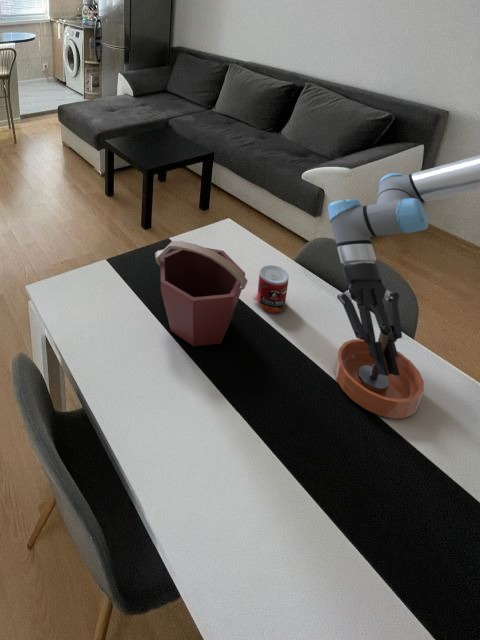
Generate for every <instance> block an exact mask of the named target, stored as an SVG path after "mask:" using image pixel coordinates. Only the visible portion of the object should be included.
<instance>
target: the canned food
mask: <svg viewBox="0 0 480 640" xmlns="http://www.w3.org/2000/svg"><path fill="white" fill-rule="evenodd" d="M289 277H290V276H289V274H288V272H287V270H285V269H284V268H283V267H280V266H278V265H274V264H267V265H264V266H262V267H261V268H260V270H259V276H258V283H257V293H256V295H257V296H256V300H257V304H258V305H259V307H260V308H261V309H262V310H264V311H266V312H267V313H274V314H275V313H280V312H281V311H283V310H284V308H285V307H286V299H287V292H288V286H289Z"/></svg>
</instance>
